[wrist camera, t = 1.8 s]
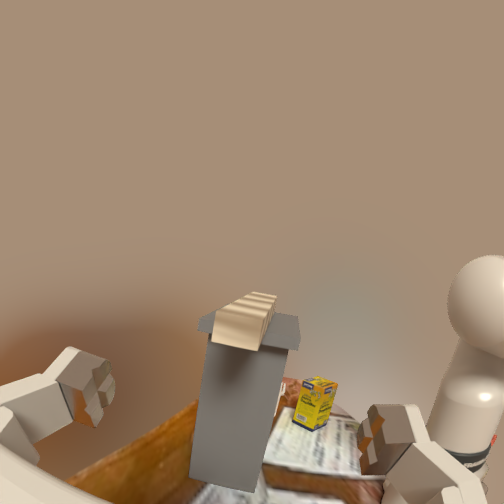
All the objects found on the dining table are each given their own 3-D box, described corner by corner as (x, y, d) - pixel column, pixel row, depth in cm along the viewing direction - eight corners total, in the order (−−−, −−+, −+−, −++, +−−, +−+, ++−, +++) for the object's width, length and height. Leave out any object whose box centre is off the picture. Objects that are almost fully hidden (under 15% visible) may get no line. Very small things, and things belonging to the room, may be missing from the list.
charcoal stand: (259, 501, 34) (300, 338, 35) (178, 482, 35) (199, 318, 36) (269, 444, 52) (297, 316, 53) (207, 431, 53) (229, 303, 54)
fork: (266, 417, 65) (267, 410, 65) (274, 386, 85) (275, 381, 85) (279, 420, 65) (281, 413, 65) (285, 389, 84) (286, 383, 84)
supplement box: (312, 432, 58) (324, 388, 59) (291, 422, 63) (302, 379, 63) (327, 425, 62) (339, 383, 63) (306, 416, 67) (317, 375, 67)
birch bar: (256, 354, 25) (263, 320, 26) (210, 344, 26) (216, 311, 26) (273, 313, 51) (277, 296, 51) (250, 309, 52) (253, 291, 52)
